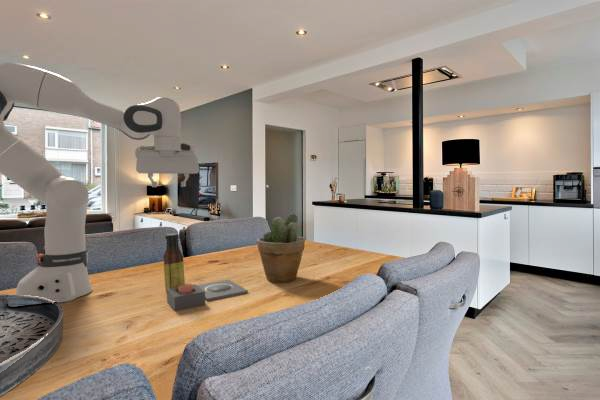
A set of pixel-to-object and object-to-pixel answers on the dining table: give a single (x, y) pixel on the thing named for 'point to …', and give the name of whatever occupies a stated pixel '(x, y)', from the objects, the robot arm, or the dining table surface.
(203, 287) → the grey square plate
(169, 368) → the dining table surface
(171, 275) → the sauce bottle
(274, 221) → the potted plant
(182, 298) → the button housing
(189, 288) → the button
